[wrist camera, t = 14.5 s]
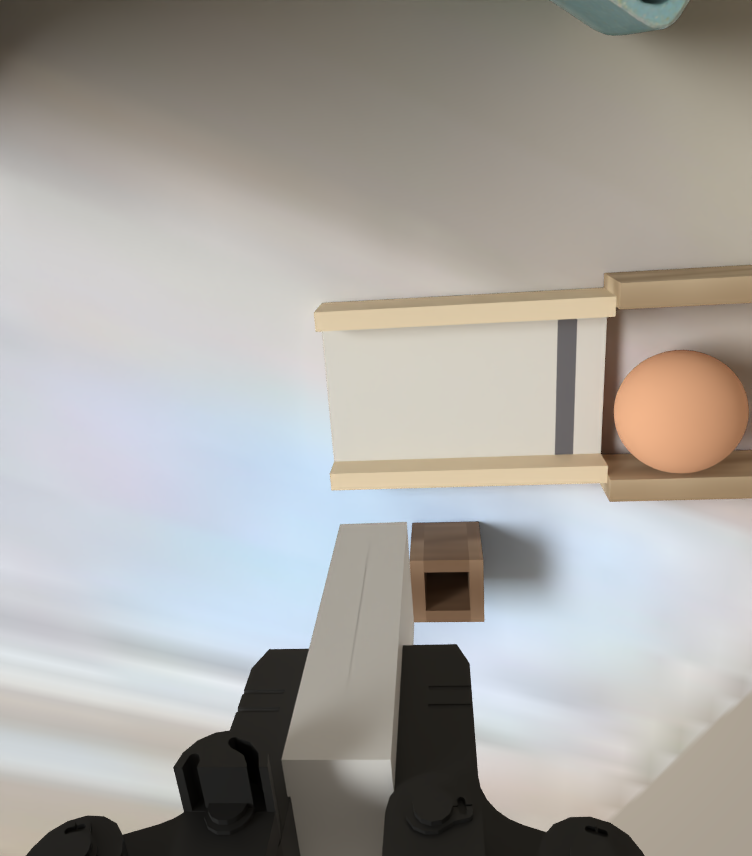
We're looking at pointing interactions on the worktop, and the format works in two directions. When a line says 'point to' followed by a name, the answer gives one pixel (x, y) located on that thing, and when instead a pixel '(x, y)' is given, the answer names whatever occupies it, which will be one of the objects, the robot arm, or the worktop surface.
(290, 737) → the robot arm
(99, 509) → the worktop surface
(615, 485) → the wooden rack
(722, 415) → the ball
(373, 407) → the runway
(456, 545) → the wooden square sleeve
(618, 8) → the flower pot
